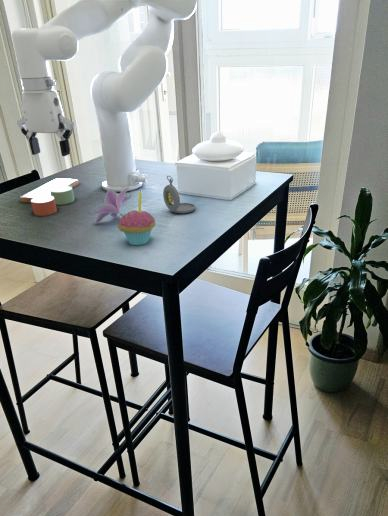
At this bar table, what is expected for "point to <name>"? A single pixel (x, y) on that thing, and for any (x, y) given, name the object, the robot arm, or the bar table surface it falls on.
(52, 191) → the sage disc
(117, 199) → the lily
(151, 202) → the bar table surface
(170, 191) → the pocket watch
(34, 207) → the terracotta disc
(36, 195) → the board
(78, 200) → the bar table surface
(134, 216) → the cupcake
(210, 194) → the butter dish
